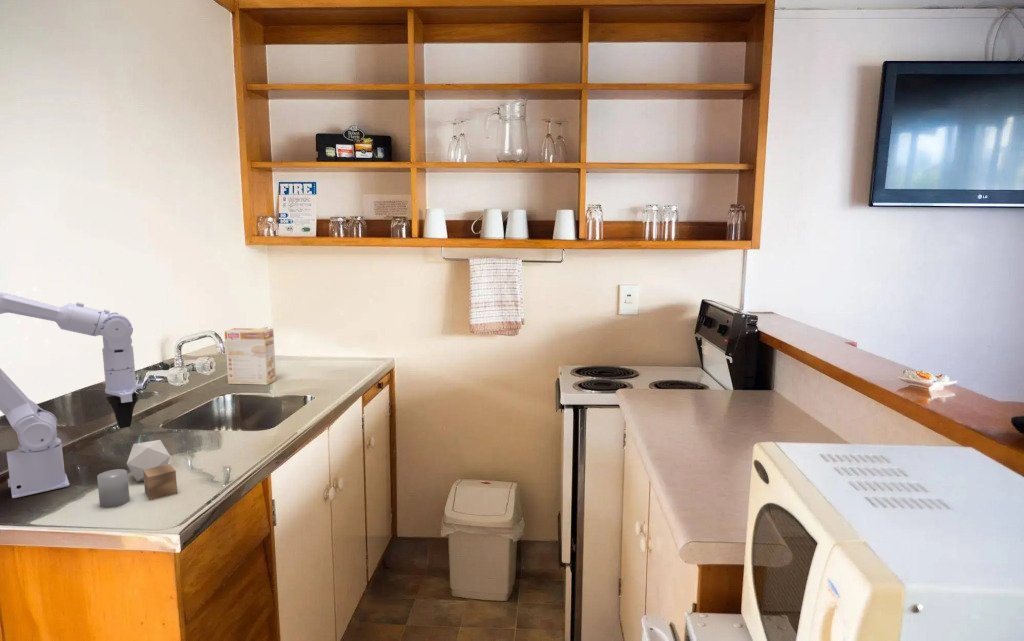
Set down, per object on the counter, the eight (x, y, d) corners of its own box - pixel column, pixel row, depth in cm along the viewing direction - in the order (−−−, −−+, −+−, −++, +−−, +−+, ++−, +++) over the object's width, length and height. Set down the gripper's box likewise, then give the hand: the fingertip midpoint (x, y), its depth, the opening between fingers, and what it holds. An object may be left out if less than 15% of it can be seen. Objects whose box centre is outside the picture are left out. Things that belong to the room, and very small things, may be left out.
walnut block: (149, 500, 122) (147, 477, 121) (145, 492, 126) (143, 469, 125) (177, 493, 125) (175, 470, 124) (171, 486, 129) (170, 463, 128)
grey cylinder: (102, 510, 117) (99, 481, 117) (98, 501, 121) (95, 473, 120) (131, 502, 121) (129, 474, 120) (127, 494, 124) (124, 467, 124)
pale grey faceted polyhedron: (173, 469, 140) (144, 438, 138) (185, 459, 134) (156, 426, 133) (141, 493, 133) (110, 461, 132) (153, 484, 128) (121, 450, 127)
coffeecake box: (276, 380, 222) (274, 328, 219) (267, 385, 214) (264, 331, 212) (238, 379, 223) (234, 327, 220) (227, 384, 216) (223, 330, 213)
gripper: (146, 371, 131) (151, 431, 133) (134, 360, 142) (139, 416, 144) (107, 375, 127) (113, 437, 129) (99, 364, 138) (104, 421, 140)
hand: (124, 426), depth 136 cm, fingers closed
